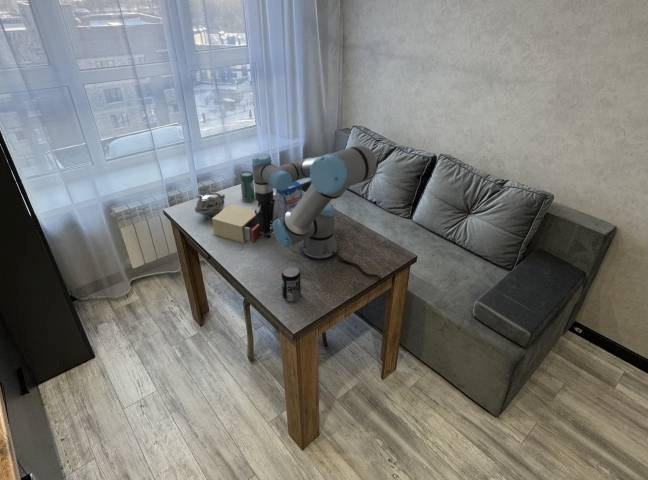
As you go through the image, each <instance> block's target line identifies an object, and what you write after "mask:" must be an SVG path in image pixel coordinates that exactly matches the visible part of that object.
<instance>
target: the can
mask: <svg viewBox="0 0 648 480" xmlns="http://www.w3.org/2000/svg"><path fill="white" fill-rule="evenodd" d="M239 181H240V190H241V199H242V201H243V203H253V202H254V201H255V200H256V199H255V187H254V177H253V171H251V170H250V171H249V170H244V171H241V172H239Z"/></svg>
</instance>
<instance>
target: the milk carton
mask: <svg viewBox="0 0 648 480" xmlns="http://www.w3.org/2000/svg"><path fill="white" fill-rule="evenodd" d="M275 191H276V192H275V193H277V212H278V216H277V218H281V217H283V216H284V215H285V213H286V212H287V211H288V210H289V209H290V208H292V207H295V206H296V205H297V204H298V202H299V201H300V199H301V198H302V197H303V184H302V183H300V182H298V180H297V181H295V182H292V183H291V185H290V187H288V188H287V189H286V190H282V191H281V190H278V189H276V188H275Z"/></svg>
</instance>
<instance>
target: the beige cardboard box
mask: <svg viewBox="0 0 648 480" xmlns="http://www.w3.org/2000/svg"><path fill="white" fill-rule="evenodd" d="M255 210H256V209H251V208H247V207H243V206H239V205H235V204H232V203H230V204H229V205H228V206H227V207H224V209H223V210H222V211H221V212H220V213H218V214H217V215H213V216H212V219H211V223H212V230H213V235H214V236H218V237H221V238H225V239H228V240H231V241H234V242H238V243H241V244H244V243H245V242H247V240H246V239H244V233H243V227H244V226H245V225H246V224H247V223H249V222H250V221H251V220H252V219H253V218H254V217H256V214H255Z"/></svg>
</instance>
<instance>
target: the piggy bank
mask: <svg viewBox="0 0 648 480" xmlns="http://www.w3.org/2000/svg"><path fill="white" fill-rule="evenodd" d="M196 198H198V200H197V202H196V206H195V207H194V212H195V213H197V214H200V215H201V216H205V217H207V220H212V218H213V217H214V216H216V215H217V214H218V213H220V212H221V211H223V210H224V209H225V204H226V203H225V199H226V195H225V194H224V193H223V194H220V193H218V192H208V193H205V194H202V193H201V194H200V193H199V194H197V195H196Z"/></svg>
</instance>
